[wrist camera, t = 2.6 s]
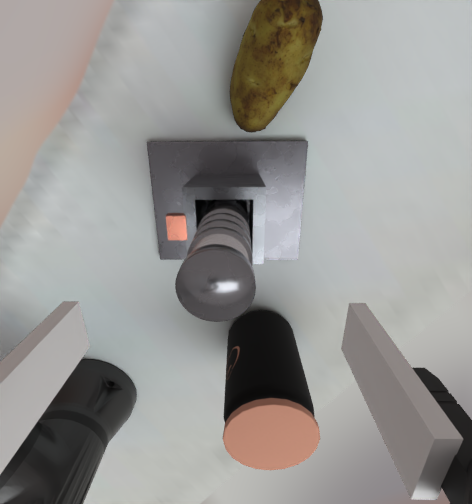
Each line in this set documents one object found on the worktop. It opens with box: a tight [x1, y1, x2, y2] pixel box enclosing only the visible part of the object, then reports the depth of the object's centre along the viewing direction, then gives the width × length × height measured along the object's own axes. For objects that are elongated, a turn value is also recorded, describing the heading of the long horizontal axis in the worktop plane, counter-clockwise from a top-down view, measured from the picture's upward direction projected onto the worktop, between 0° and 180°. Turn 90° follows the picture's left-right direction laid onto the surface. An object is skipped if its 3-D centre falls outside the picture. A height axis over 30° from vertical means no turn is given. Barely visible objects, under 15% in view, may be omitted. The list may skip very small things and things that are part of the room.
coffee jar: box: [223, 310, 320, 470], centre depth 40 cm, size 11×11×18 cm
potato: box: [230, 0, 323, 132], centre depth 30 cm, size 8×13×8 cm, turn 138°
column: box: [175, 199, 256, 322], centre depth 28 cm, size 5×5×22 cm
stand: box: [147, 141, 308, 264], centre depth 35 cm, size 20×16×11 cm
